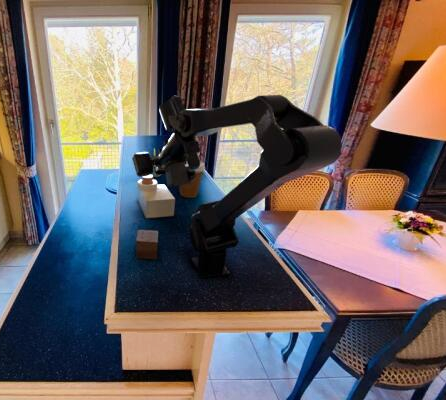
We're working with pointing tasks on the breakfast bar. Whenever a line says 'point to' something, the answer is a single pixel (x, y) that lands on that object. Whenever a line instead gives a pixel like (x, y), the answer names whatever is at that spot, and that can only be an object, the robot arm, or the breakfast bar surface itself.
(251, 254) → the breakfast bar surface
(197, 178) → the disposable coffee cup
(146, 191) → the white box
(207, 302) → the breakfast bar surface
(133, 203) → the breakfast bar surface
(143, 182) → the release button
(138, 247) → the brown cube
